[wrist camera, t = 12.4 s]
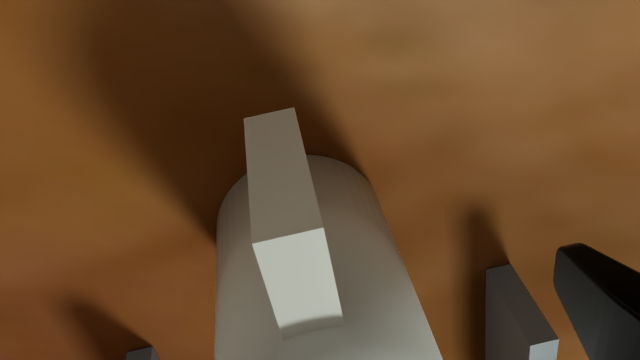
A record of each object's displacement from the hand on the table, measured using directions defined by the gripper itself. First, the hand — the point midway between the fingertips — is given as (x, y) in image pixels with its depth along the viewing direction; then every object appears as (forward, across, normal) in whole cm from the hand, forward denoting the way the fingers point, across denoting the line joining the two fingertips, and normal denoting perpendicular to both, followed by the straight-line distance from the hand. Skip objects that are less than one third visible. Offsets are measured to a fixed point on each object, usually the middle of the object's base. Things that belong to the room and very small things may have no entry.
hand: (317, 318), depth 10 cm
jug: (+11, 0, +5) cm, 12 cm away
